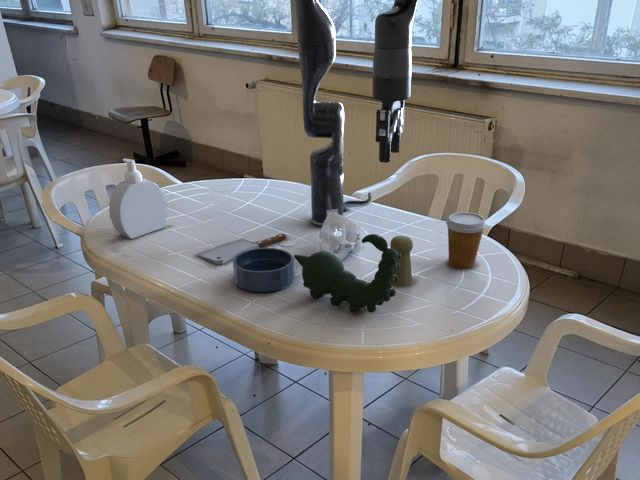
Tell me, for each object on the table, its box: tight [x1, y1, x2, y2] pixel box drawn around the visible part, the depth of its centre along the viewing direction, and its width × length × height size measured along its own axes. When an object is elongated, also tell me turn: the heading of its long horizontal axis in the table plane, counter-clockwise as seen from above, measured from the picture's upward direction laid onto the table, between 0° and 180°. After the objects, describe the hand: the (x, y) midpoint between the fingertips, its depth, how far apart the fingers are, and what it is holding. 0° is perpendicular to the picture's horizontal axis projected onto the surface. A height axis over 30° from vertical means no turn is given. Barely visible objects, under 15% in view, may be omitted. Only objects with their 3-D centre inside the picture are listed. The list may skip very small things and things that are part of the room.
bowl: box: [232, 247, 296, 293], centre depth 146 cm, size 14×14×6 cm
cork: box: [389, 235, 414, 288], centre depth 144 cm, size 6×6×11 cm
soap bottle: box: [108, 158, 169, 240], centre depth 170 cm, size 16×5×20 cm, turn 141°
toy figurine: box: [293, 233, 401, 314], centre depth 133 cm, size 9×19×25 cm
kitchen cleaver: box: [196, 233, 287, 265], centre depth 164 cm, size 24×1×10 cm
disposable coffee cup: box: [445, 211, 487, 270], centre depth 152 cm, size 10×10×12 cm
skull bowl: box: [317, 212, 369, 261], centre depth 160 cm, size 10×14×12 cm
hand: (389, 157), depth 129 cm, fingers open, 8 cm apart
